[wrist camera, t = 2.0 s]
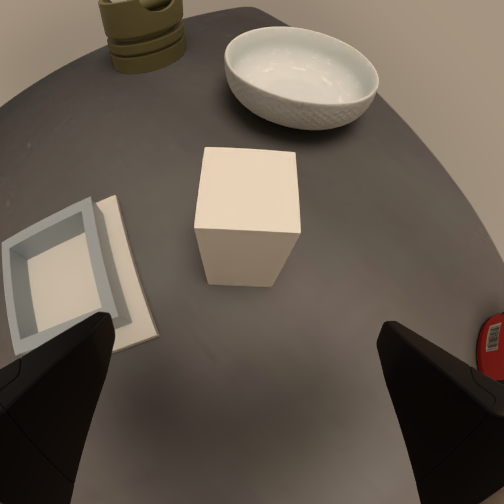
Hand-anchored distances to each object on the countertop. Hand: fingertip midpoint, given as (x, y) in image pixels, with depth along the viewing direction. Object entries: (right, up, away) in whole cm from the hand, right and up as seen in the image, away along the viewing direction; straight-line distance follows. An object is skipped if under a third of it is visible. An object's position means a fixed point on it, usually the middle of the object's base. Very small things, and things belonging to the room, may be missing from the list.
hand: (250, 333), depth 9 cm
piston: (-16, +32, +26) cm, 44 cm away
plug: (-1, +2, +15) cm, 15 cm away
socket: (-16, -1, +13) cm, 20 cm away
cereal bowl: (+5, +20, +23) cm, 31 cm away
